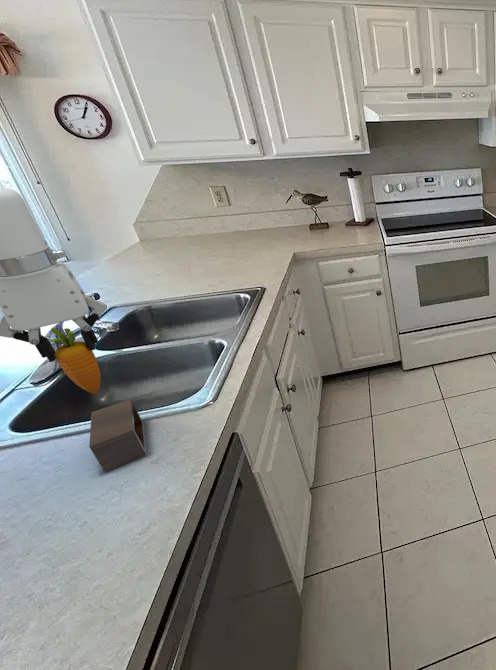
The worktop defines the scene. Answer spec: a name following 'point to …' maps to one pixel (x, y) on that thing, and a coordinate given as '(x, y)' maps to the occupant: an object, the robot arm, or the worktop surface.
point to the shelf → (117, 435)
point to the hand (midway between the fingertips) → (73, 352)
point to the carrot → (77, 361)
